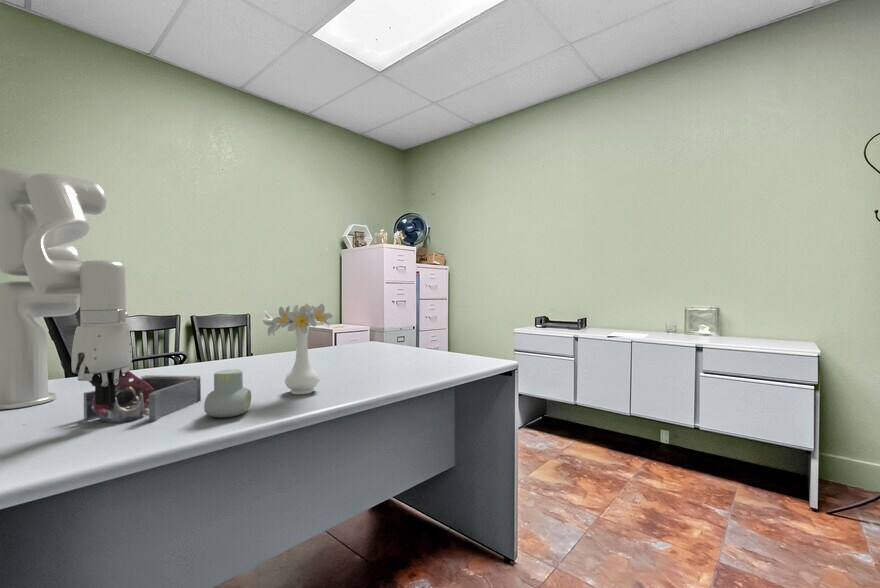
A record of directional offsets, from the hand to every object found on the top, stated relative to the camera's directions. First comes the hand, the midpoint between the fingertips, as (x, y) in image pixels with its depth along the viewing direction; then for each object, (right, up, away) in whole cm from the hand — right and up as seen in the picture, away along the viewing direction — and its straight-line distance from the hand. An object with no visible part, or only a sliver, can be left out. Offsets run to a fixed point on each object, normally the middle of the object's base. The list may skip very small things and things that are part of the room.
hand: (105, 403), depth 86 cm
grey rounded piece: (+23, -5, +7) cm, 24 cm away
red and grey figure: (-1, -5, +6) cm, 8 cm away
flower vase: (+32, -4, +27) cm, 42 cm away
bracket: (+1, -5, +11) cm, 12 cm away
